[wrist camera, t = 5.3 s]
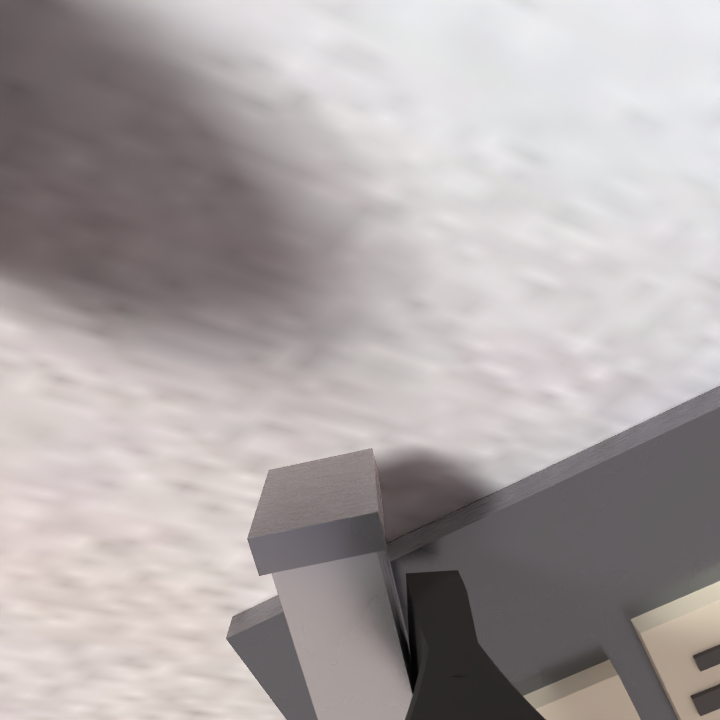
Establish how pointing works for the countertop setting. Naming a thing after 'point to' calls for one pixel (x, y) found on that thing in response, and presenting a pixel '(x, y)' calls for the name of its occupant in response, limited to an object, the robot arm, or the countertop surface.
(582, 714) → the label plate
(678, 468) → the dark gray base board
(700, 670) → the label plate
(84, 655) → the countertop surface
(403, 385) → the countertop surface
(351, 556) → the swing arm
